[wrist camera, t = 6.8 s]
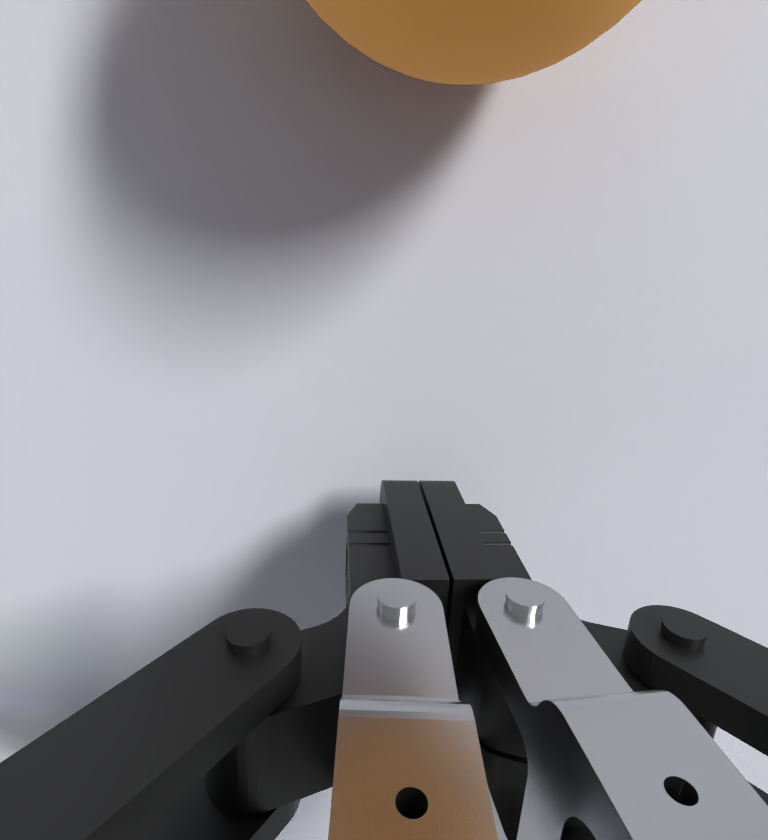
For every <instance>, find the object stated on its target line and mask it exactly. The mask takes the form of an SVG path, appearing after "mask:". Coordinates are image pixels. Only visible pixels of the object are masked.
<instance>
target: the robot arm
mask: <svg viewBox="0 0 768 840" xmlns="http://www.w3.org/2000/svg"><path fill="white" fill-rule="evenodd" d="M345 585H346V608H345V609H344V610H343V612H342V613H341V614H339V615H338V616H337V617H336V618H334V619H332V620H330V621H329V622H326V623H324V624H322V625H319V626H316V627H312V628H308V629H305V630H301V631H300V629H299V627H298V626H297V624H296V623H295V622H294V621H293V620H292V619H291V618H289V617H288V616H286V615H285V614H282V613H280V612H277V611H274V610H269V609H258V608H253V609H244V610H238V611H235V612H231V613H228V614H226V615H224V616H221V617H219V618H218V619H216V620H214V621H213V622H211V623H210V624H208V625H207V626H205V627H204V628H202V629H201V630H199V631H198V632H196V633H195V634H193V635H192V636H190V637H189V638H187V639H186V640H184V641H183V642H181V643H180V644H178V645H177V646H175V647H174V648H172V649H171V650H169V651H168V652H166V653H165V654H163V655H162V656H160V657H159V658H157V659H156V660H154V661H153V662H151V663H150V664H148V665H147V666H145V667H144V668H142V669H141V670H139V671H138V672H136V673H135V674H133V675H132V676H130V677H129V678H127V679H126V680H124V681H123V682H121V683H120V684H118V685H117V686H115V687H114V688H112V689H111V690H109V691H108V692H106V693H105V694H103V695H102V696H100V697H99V698H97V699H96V700H94V701H93V702H91V703H90V704H88V705H87V706H85V707H84V708H82V709H81V710H79V711H78V712H76V713H75V714H73V715H72V716H70V717H69V718H67V719H66V720H64V721H63V722H61V723H60V724H58V725H57V726H55V727H54V728H52V729H51V730H49V731H48V732H46V733H45V734H43V735H42V736H40V737H39V738H37V739H36V740H34V741H33V742H31V743H30V744H28V745H27V746H25V747H24V748H22V749H21V750H19V751H18V752H16V753H15V754H13V755H12V756H10V757H9V758H7V759H6V760H4V761H3V762H1V763H0V840H274V839H275V838H276V837H277V836H278V835H279V833H280V832H281V831H282V830H283V829H284V827H285V826H286V825H287V824H288V823H289V821H290V820H291V819H292V817H293V816H294V814H295V812H296V810H297V808H298V805H299V802H300V799H301V798H304V797H307V796H309V795H312V794H314V793H317V792H320V791H322V790H325V789H328V788H330V787H333V789H332V801H331V813H330V825H329V837H328V840H768V794H767V793H765V792H764V791H762V790H761V789H759V788H757V787H756V786H754V785H753V784H751V783H750V782H748V781H747V780H746V779H745V778H744V776H743V775H742V774H741V773H740V772H739V770H738V769H737V768H736V767H735V766H734V764H733V763H732V762H731V761H730V759H729V758H728V757H727V756H726V755H725V753H724V752H723V751H722V750H721V749H720V747H719V746H718V745H717V744H716V743H715V741H714V740H713V738H714V735H715V732H716V728H717V726H718V727H719V728H721V729H723V730H724V731H726V732H728V733H730V734H731V735H733V736H735V737H736V738H738V739H740V740H741V741H743V742H745V743H746V744H748V745H750V746H752V747H753V748H755V749H757V750H758V751H760V752H762V753H763V754H765V755H767V756H768V648H766V647H764V646H762V645H760V644H758V643H756V642H754V641H752V640H749V639H747V638H745V637H743V636H741V635H739V634H737V633H735V632H733V631H731V630H728V629H726V628H724V627H722V626H720V625H718V624H716V623H714V622H712V621H709V620H707V619H705V618H703V617H701V616H699V615H697V614H694V613H692V612H689V611H686V610H683V609H679V608H675V607H670V606H662V605H651V606H645V607H642V608H639V609H637V610H636V611H634V613H633V614H632V615H631V618H630V622H629V626H628V630H624V629H619V628H614V627H609V626H604V625H599V624H594V623H590V622H586V621H582V620H580V619H579V617H578V616H577V615H576V613H575V612H574V611H573V609H572V608H571V607H570V605H569V604H568V603H567V601H566V600H565V599H564V598H563V597H562V596H561V595H560V594H559V593H558V592H556V591H555V590H553V589H552V588H550V587H548V586H546V585H544V584H541V583H539V582H536V581H533V580H531V578H530V576H529V574H528V572H527V571H526V569H525V567H524V565H523V563H522V562H521V560H520V558H519V556H518V554H517V553H516V551H515V549H514V547H513V546H511V542H510V540H509V538H508V537H507V535H506V533H504V529H503V528H502V526H501V524H500V522H499V521H498V519H497V517H496V516H495V515H494V514H492V513H491V512H490V511H488V510H487V509H485V508H484V507H483V506H481V505H480V504H465V502H464V500H463V498H462V496H461V494H460V492H459V490H458V488H457V485H456V483H455V482H454V481H419V482H417V481H386V480H382V483H381V491H380V504H356V506H355V507H354V508H353V510H352V511H351V512H350V513H349V515H348V516H347V545H346V576H345ZM459 701H461V702H459Z"/></svg>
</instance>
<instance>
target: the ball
mask: <svg viewBox="0 0 768 840" xmlns="http://www.w3.org/2000/svg"><path fill="white" fill-rule="evenodd" d="M306 1H307V2H308V4H309V5H310V6H311V7H312V8H313V10H314V11H315V12H316V13H317V15H318V16H319V17H320V18H321V19H322V20H323V21H324V22H325V23H326V24H328V25H329V26H330V27H331V28H332V29H333V30H334V31H335V32H336V33H337V34H338V35H339V36H340V37H342V38H343V39H344V40H345V41H346V42H347V43H349V44H350V45H351V46H353V47H354V48H356V49H357V50H359V51H360V52H362V53H363V54H365V55H366V56H368V57H369V58H371V59H372V60H374V61H376V62H377V63H379V64H381V65H383V66H386V67H388V68H390V69H393V70H395V71H398V72H400V73H403V74H405V75H408V76H411V77H414V78H417V79H421V80H425V81H429V82H434V83H441V84H453V85H480V84H490V83H495V82H500V81H505V80H509V79H514V78H518V77H522V76H525V75H528V74H530V73H533V72H535V71H538V70H541V69H543V68H546V67H548V66H551V65H553V64H555V63H557V62H559V61H561V60H563V59H565V58H566V57H568V56H570V55H572V54H574V53H575V52H577V51H579V50H581V49H583V48H584V47H585V46H587V45H588V44H589V43H591V42H592V41H594V40H595V39H596V38H598V37H599V36H600V35H602V34H603V33H605V32H606V31H607V30H609V29H610V28H611V27H613V26H614V25H615V24H616V23H618V22H619V21H620V20H621V19H622V18H623V17H624V16H625V15H626V14H627V13H628V12H630V11H631V10H632V9H633V8H634V7H635V6H636V5H637V4H638V3H639V2H640V1H642V0H306Z"/></svg>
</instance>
